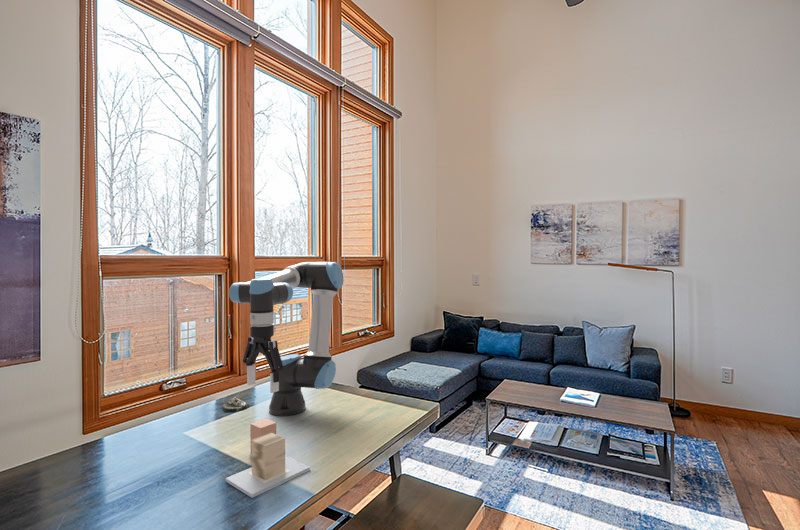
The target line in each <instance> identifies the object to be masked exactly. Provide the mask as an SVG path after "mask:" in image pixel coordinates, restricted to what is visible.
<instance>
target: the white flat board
mask: <svg viewBox="0 0 800 530" xmlns="http://www.w3.org/2000/svg"><path fill="white" fill-rule="evenodd" d="M309 471H311V467H310V466H309V465H306V464H305V463H303V462H300V461H299V460H296V459H294V458H292V457H290V456H288V455H286V454H285V472H283V473H280V474H278V475H276V476H274V477H272V478H270V479H267V480H264V479H262V478H260V477H258V476H256V475H255V474H253V473H252V466H251V467H249V468H247V469H244V470H242V471H240V472H237V473H234V474H232V475H230V476H228V477H225V483H227V484H229V485H230V486H232V487H233V488H235V489H237V490H238V491H240V492H242V493H243V494H245V495H246V496H248V497H250V498H251V499H253V498H255V497H257V496H259V495H261V494H263V493H265V492H268V491H270V490H272V489H275V488H276V487H279V486H280V485H282V484H284V483H286V482H287V483H288V482H289V481H290V480H293V479H294V478H297V477H299V476H301V475H304V474H305V473H307V472H309Z"/></svg>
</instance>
